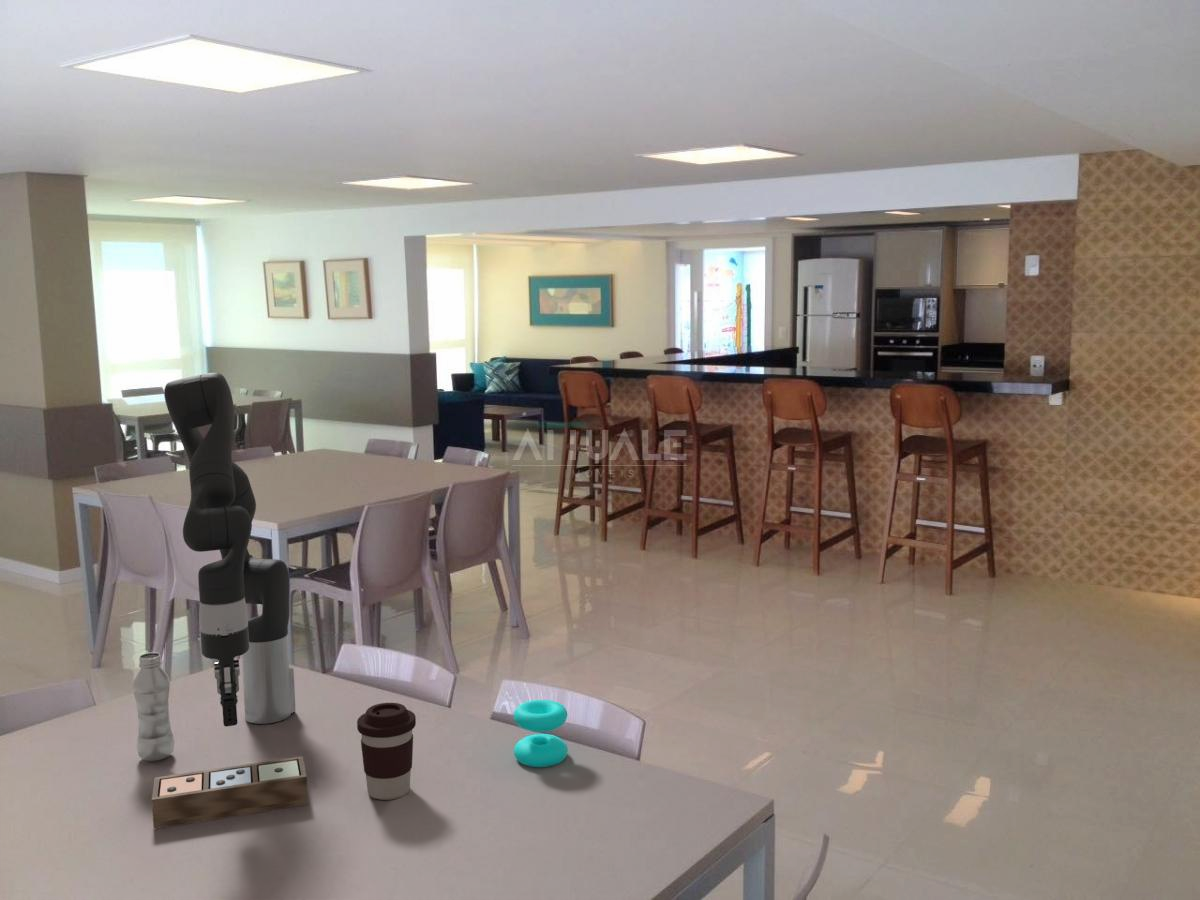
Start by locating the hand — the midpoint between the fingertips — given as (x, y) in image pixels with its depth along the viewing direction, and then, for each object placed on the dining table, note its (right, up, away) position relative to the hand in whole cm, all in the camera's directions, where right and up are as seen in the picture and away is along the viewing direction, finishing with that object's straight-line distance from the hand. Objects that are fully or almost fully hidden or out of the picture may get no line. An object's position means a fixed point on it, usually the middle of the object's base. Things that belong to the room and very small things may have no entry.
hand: (230, 724), depth 176 cm
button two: (-8, -13, -1) cm, 15 cm away
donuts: (+51, -12, +20) cm, 56 cm away
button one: (+7, -12, +4) cm, 14 cm away
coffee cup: (+25, -14, +6) cm, 30 cm away
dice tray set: (0, -14, +2) cm, 14 cm away
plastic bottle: (-21, -12, +21) cm, 32 cm away
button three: (0, -12, +1) cm, 12 cm away
